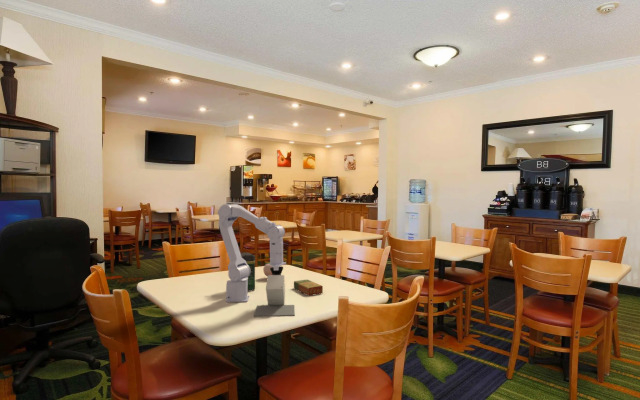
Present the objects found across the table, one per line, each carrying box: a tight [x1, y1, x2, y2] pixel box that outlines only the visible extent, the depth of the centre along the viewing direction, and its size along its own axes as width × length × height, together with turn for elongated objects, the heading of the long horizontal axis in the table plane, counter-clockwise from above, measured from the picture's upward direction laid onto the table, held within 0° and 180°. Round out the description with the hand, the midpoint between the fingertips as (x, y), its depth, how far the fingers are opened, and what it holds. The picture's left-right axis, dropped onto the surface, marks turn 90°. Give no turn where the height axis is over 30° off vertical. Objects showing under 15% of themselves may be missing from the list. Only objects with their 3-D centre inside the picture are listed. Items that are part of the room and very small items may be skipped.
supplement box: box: [265, 274, 286, 305], centre depth 156 cm, size 7×7×13 cm
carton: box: [293, 279, 324, 296], centre depth 182 cm, size 8×16×4 cm, turn 30°
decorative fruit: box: [263, 261, 272, 277], centre depth 207 cm, size 9×8×10 cm
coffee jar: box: [240, 252, 256, 292], centre depth 183 cm, size 10×8×19 cm
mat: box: [253, 304, 296, 317], centre depth 150 cm, size 16×13×1 cm
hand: (277, 283), depth 159 cm, fingers closed, pressing on supplement box
